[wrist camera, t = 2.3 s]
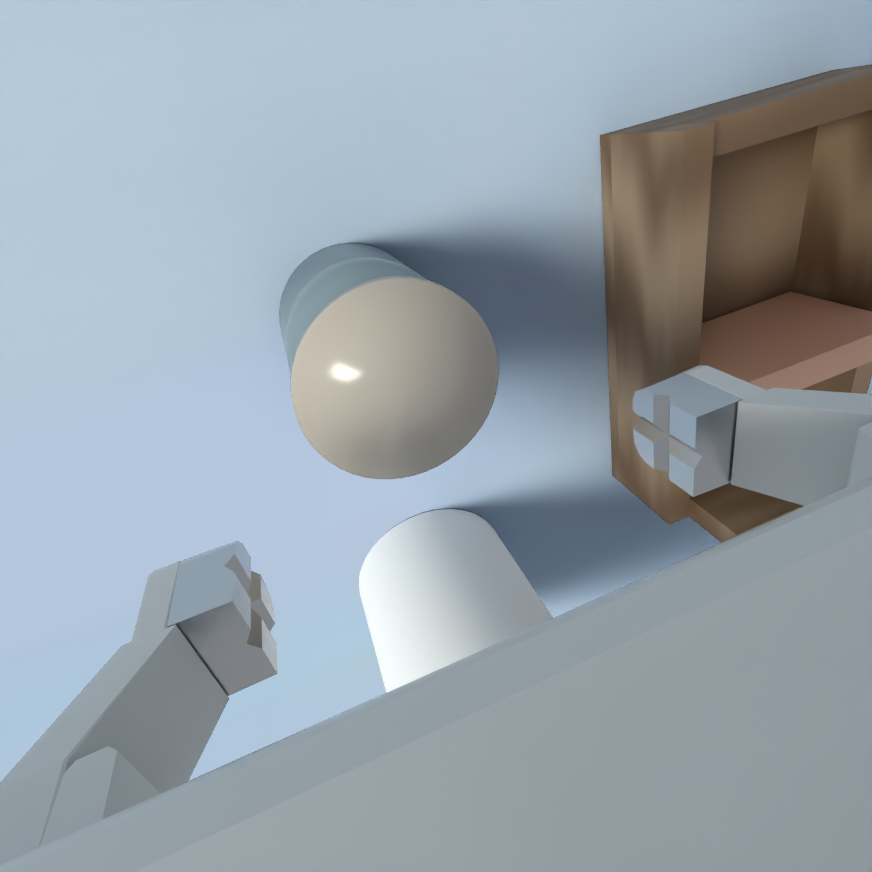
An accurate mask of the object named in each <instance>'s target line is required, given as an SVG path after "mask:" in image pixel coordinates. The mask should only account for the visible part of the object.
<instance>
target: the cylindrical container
mask: <svg viewBox="0 0 872 872" xmlns="http://www.w3.org/2000/svg"><path fill="white" fill-rule="evenodd" d="M359 589H360V595H361V599H362V603H363V607H364V610H365V614H366V618H367V622H368V625H369V629H370V633H371V636H372V640H373V644H374V648H375V651H376V655H377V659H378V663H379V666H380V670H381V674H382V677H383V681H384V685H385V689H386V692H389V691H391V690H394V689H396V688H398V687H400V686H403V685H405V684H407V683H409V682H412V681H414V680H416V679H418V678H421V677H423V676H425V675H427V674H430V673H432V672H434V671H436V670H439V669H441V668H443V667H445V666H447V665H450V664H452V663H454V662H456V661H459V660H461V659H463V658H465V657H468V656H470V655H472V654H474V653H477V652H479V651H481V650H483V649H485V648H488V647H490V646H492V645H494V644H497V643H499V642H501V641H503V640H506V639H508V638H510V637H512V636H515V635H517V634H519V633H521V632H523V631H526V630H528V629H530V628H532V627H535V626H537V625H539V624H541V623H544V622H546V621H548V620H550V619H553V617H552V615H551V614H550V612H549V611H548V609H547V608H546V606H545V605H544V603H543V602H542V600H541V599H540V597H539V596H538V594H537V593H536V591H535V590H534V588H533V587H532V585H531V584H530V582H529V581H528V579H527V578H526V576H525V575H524V573H523V572H522V570H521V569H520V567H519V566H518V565H517V563H516V562H515V560H514V559H513V557H512V556H511V554H510V553H509V551H508V550H507V548H506V547H505V545H504V544H503V542H502V541H501V539H500V538H499V536H498V535H497V533H496V532H495V530H494V529H493V527H492V526H491V525H490V524H489V523H488V522H487V521H486V520H485V519H483V518H481V517H480V516H478V515H476V514H474V513H471V512H468V511H464V510H457V509H441V510H434V511H430V512H425V513H421V514H419V515H416V516H414V517H411V518H409V519H407V520H405V521H403V522H402V523H400V524H398V525H397V526H395V527H393V528H392V529H391V530H389V531H388V532H387V533H386V534H385V535H384V536H382V537H381V538H380V539H379V540H378V542H377V543H376V544H375V545H374V546H373V547H372V549H371V550H370V552H369V553H368V555H367V557H366V558H365V560H364V563H363V565H362V568H361V571H360V578H359Z"/></svg>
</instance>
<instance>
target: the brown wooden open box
mask: <svg viewBox="0 0 872 872" xmlns="http://www.w3.org/2000/svg"><path fill="white" fill-rule="evenodd" d="M600 147H601V174H602V202H603V229H604V256H605V284H606V311H607V339H608V366H609V393H610V421H611V448H612V475H613V476H614V477H615V478H616V479H617V480H618V481H620V482H621V483H622V484H623V485H624V486H625V487H626V488H628V489H629V490H630V491H631V492H632V493H633V494H635V495H636V496H637V497H638V498H639V499H640V500H641V501H643V502H644V503H645V504H646V505H647V506H648V507H650V508H651V509H652V510H653V511H654V512H655V513H656V514H658V515H659V516H660V517H661V518H662V519H663V520H664V521H666V522H667V523H668V524H672V523H674V522H676V521H679V520H681V519H683V518H686V517H688V516H689V517H690V518H692V519H693V520H694V521H695V522H697V523H698V524H699V525H700V526H702V527H703V528H704V529H705V530H706V531H708V532H709V533H710V534H711V535H713V536H714V537H715V538H716V539H718V540H719V541H720V542H721V543H723V542H725V541H727V540H730V539H732V538H734V537H736V536H739V535H741V534H743V533H745V532H748V531H750V530H752V529H754V528H757V527H759V526H761V525H763V524H766V523H768V522H770V521H772V520H775V519H777V518H779V517H782V516H784V515H786V514H788V513H791V512H793V511H795V510H797V509H799V508H802V507H804V506H803V505H799V504H796V503H793V502H789V501H786V500H782V499H779V498H776V497H772V496H769V495H765V494H762V493H758V492H755V491H752V490H748V489H745V488H741V487H738V486H735V485H731V483H728V484H725V485H723V486H720V487H718V488H715V489H713V490H710V491H708V492H705V493H702V494H700V495H697V496H695V497H692V496H691V495H690V494H688V493H687V492H685V491H684V490H683V489H681V488H680V487H678V486H677V485H676V484H674V483H673V482H671V481H670V480H669V475H668V471H663V470H658V469H654V468H652V467H651V466H650V465H648V464H647V463H646V462H645V461H644V460H643V458H642V457H641V456H640V455H639V453H638V450H637V448H636V446H635V443H634V432H633V429H634V427H635V425H636V423H637V421H638V419H639V416H638V415H637V414H636V413H635V412H634V411H633V397H634V394H635V391H638V390H641V389H643V388H646V387H648V386H651V385H653V384H656V383H658V382H661V381H663V380H666V379H668V378H671V377H673V376H676V375H678V374H679V373H682V372H684V371H687V370H689V369H691V368H694V367H696V366H699V356H700V341H701V326H702V323H704V322H707V321H710V320H713V319H715V318H718V317H721V316H724V315H726V314H729V313H732V312H735V311H737V310H740V309H743V308H746V307H749V306H751V305H754V304H757V303H760V302H762V301H765V300H768V299H771V298H773V297H776V296H779V295H782V294H785V293H787V292H790V291H791V292H795V293H799V294H803V295H807V296H811V297H815V298H819V299H823V300H827V301H831V302H835V303H839V304H843V305H847V306H851V307H855V308H859V309H863V310H867V311H871V312H872V65H865V66H858V67H851V68H844V69H837V70H831V71H828V72H824V73H821V74H817V75H814V76H810V77H806V78H803V79H799V80H796V81H792V82H789V83H785V84H781V85H778V86H774V87H771V88H767V89H764V90H760V91H757V92H753V93H749V94H746V95H742V96H739V97H735V98H732V99H728V100H724V101H721V102H717V103H714V104H710V105H707V106H703V107H699V108H696V109H692V110H689V111H685V112H682V113H678V114H675V115H671V116H667V117H664V118H660V119H657V120H653V121H650V122H646V123H642V124H639V125H635V126H632V127H628V128H625V129H621V130H617V131H614V132H610V133H607V134H603V135H600ZM871 376H872V361H871V362H869V363H866V364H864V365H861V366H859V367H856V368H854V369H851V370H849V371H846V372H844V373H841V374H839V375H836V376H834V377H831V378H829V379H826V380H824V381H821V382H819V383H816V384H814V385H811V386H809V387H806V388H804V389H801V390H815V391H830V392H845V393H860V394H867V391H868V388H869V384H870V380H871Z"/></svg>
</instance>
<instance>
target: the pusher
mask: <svg viewBox="0 0 872 872" xmlns="http://www.w3.org/2000/svg"><path fill="white" fill-rule="evenodd" d="M871 361H872V312H871V311H867V310H863V309H859V308H855V307H851V306H847V305H843V304H839V303H835V302H831V301H827V300H823V299H819V298H815V297H811V296H807V295H803V294H799V293H795V292H791V291H790V292H787V293H785V294H782V295H779V296H776V297H773V298H771V299H768V300H765V301H762V302H760V303H757V304H754V305H751V306H749V307H746V308H743V309H740V310H737V311H735V312H732V313H729V314H726V315H724V316H721V317H718V318H715V319H713V320H710V321H707V322H704V323H702V326H701V341H700V356H699V365H707V366H710V367H712V368H714V369H717V370H719V371H722V372H724V373H727V374H729V375H731V376H734V377H736V378H739V379H741V380H744V381H746V382H748V383H751V384H753V385H756V386H758V387H761V388H763V389H765V390H769V389H772V388H785V389H800V390H801V389H804V388H806V387H809V386H811V385H814V384H816V383H819V382H821V381H824V380H826V379H829V378H831V377H834V376H836V375H839V374H841V373H844V372H846V371H849V370H851V369H854V368H856V367H859V366H861V365H864V364H866V363H869V362H871Z"/></svg>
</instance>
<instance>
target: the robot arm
mask: <svg viewBox="0 0 872 872" xmlns="http://www.w3.org/2000/svg"><path fill="white" fill-rule="evenodd" d="M633 411H634V412H635V413H636V414H637V415H638V416H639V419H638V421H637V423H636V425H635V427H634V429H633V432H634V443H635V446H636V448H637V450H638V453H639V455H640V456H641V457H642V458H643V460H644V461H645V462H646V463H647V464H648V465H650V466H651V467H652V468H654V469H658V470H663V471H668V475H669V480H670V481H671V482H673V483H674V484H676V485H677V486H678V487H680V488H681V489H683V490H684V491H685V492H687V493H688V494H690V495H691V496H692V497H695V496H697V495H700V494H702V493H705V492H708V491H710V490H713V489H715V488H718V487H720V486H723V485H725V484H728V483H731V485H735V486H738V487H741V488H745V489H748V490H752V491H755V492H758V493H762V494H765V495H769V496H772V497H776V498H779V499H782V500H786V501H789V502H793V503H796V504H799V505H803V506H804V507H802V508H799V509H797V510H795V511H793V512H791V513H788V514H786V515H784V516H782V517H779V518H777V519H775V520H772V521H770V522H768V523H766V524H763V525H761V526H759V527H757V528H754V529H752V530H750V531H748V532H745V533H743V534H741V535H739V536H736V537H734V538H732V539H730V540H727V541H725V542H723V543H721V544H718V545H716V546H714V547H712V548H709V549H707V550H705V551H703V552H700V553H698V554H696V555H694V556H691V557H689V558H687V559H685V560H682V561H680V562H678V563H676V564H673V565H671V566H669V567H667V568H664V569H662V570H660V571H658V572H655V573H653V574H651V575H649V576H646V577H644V578H642V579H640V580H637V581H635V582H633V583H631V584H628V585H626V586H624V587H622V588H620V589H617V590H615V591H613V592H611V593H608V594H606V595H604V596H602V597H599V598H597V599H595V600H593V601H590V602H588V603H586V604H584V605H582V606H579V607H577V608H575V609H573V610H570V611H568V612H566V613H564V614H561V615H559V616H557V617H555V618H553V619H550V620H548V621H546V622H544V623H541V624H539V625H537V626H535V627H532V628H530V629H528V630H526V631H523V632H521V633H519V634H517V635H515V636H512V637H510V638H508V639H506V640H503V641H501V642H499V643H497V644H494V645H492V646H490V647H488V648H485V649H483V650H481V651H479V652H477V653H474V654H472V655H470V656H468V657H465V658H463V659H461V660H459V661H456V662H454V663H452V664H450V665H447V666H445V667H443V668H441V669H439V670H436V671H434V672H432V673H430V674H427V675H425V676H423V677H421V678H418V679H416V680H414V681H412V682H409V683H407V684H405V685H403V686H400V687H398V688H396V689H394V690H391V691H389V692H387V693H385V694H383V695H380V696H378V697H376V698H374V699H371V700H369V701H367V702H365V703H362V704H360V705H358V706H356V707H353V708H351V709H349V710H347V711H344V712H342V713H340V714H338V715H335V716H333V717H331V718H329V719H327V720H324V721H322V722H320V723H318V724H315V725H313V726H311V727H309V728H306V729H304V730H302V731H300V732H297V733H295V734H293V735H291V736H288V737H286V738H284V739H282V740H280V741H277V742H275V743H273V744H271V745H268V746H266V747H264V748H262V749H259V750H257V751H255V752H253V753H250V754H248V755H246V756H244V757H241V758H239V759H237V760H235V761H232V762H230V763H228V764H226V765H224V766H221V767H219V768H217V769H215V770H212V771H210V772H208V773H206V774H203V775H201V776H199V777H197V778H194V779H192V780H190V781H188V780H189V778H190V776H191V774H192V772H193V770H194V768H195V766H196V764H197V762H198V760H199V758H200V756H201V754H202V752H203V750H204V748H205V746H206V744H207V742H208V740H209V738H210V736H211V734H212V732H213V730H214V728H215V726H216V724H217V722H218V720H219V718H220V716H221V714H222V712H223V710H224V708H225V706H226V704H227V702H228V700H229V698H228V696H229V695H231V694H234V693H236V692H238V691H240V690H242V689H245V688H247V687H249V686H251V685H253V684H256V683H258V682H260V681H262V680H264V679H267V678H269V677H271V676H273V675H275V674H277V654H276V642H275V640H274V639H273V637H272V635H271V633H270V631H271V629H272V627H273V626H274V624H275V618H274V609H273V605H272V601H271V597H270V594H269V592H268V589H267V587H266V584H265V582H264V581H263V579H262V577H261V575H260V574H257V573H255V572H253V571H251V557H250V555H249V554H248V552H247V550H246V549H245V547H244V545H243V544H242V543H240V542H239V541H235V542H233V543H230V544H227V545H224V546H221V547H219V548H216V549H213V550H210V551H207V552H205V553H202V554H199V555H196V556H193V557H190V558H188V559H185V560H183V561H179V562H176V563H174V564H171V565H168V566H166V567H163V568H161V569H158V570H155V571H153V572H152V573H151V574H150V575H149V576H148V579H147V583H146V587H145V591H144V595H143V599H142V602H141V606H140V610H139V614H138V618H137V622H136V626H135V629H134V633H133V637H132V641H131V642H130V643H127V644H125V645H123V646H121V647H120V648H119V650H118V651H117V652H116V653H115V654H114V655H113V656H112V657H111V659H110V660H109V661H108V662H107V663H106V664H105V665H104V666H103V668H102V669H101V670H100V671H99V672H98V673H97V674H96V675H95V677H94V678H93V679H92V680H91V681H90V682H89V683H88V684H87V686H86V687H85V688H84V689H83V690H82V691H81V692H80V693H79V695H78V696H77V697H76V698H75V699H74V700H73V701H72V702H71V704H70V705H69V706H68V707H67V708H66V709H65V710H64V711H63V713H62V714H61V715H60V716H59V717H58V718H57V719H56V720H55V722H54V723H53V724H52V725H51V726H50V727H49V728H48V729H47V731H46V732H45V733H44V734H43V735H42V736H41V737H40V738H39V740H38V741H37V742H36V743H35V744H34V745H33V746H32V747H31V749H30V750H29V751H28V752H27V753H26V754H25V755H24V756H23V758H22V759H21V760H20V761H19V762H18V763H17V764H16V765H15V767H14V768H13V769H12V770H11V771H10V772H9V773H8V774H7V776H6V777H5V778H4V779H3V780H2V781H1V782H0V872H872V394H860V393H845V392H830V391H815V390H800V389H785V388H772V389H769V390H765V389H763V388H761V387H758V386H756V385H753V384H751V383H748V382H746V381H744V380H741V379H739V378H736V377H734V376H731V375H729V374H727V373H724V372H722V371H719V370H717V369H714V368H712V367H710V366H707V365H699V366H696V367H694V368H691V369H689V370H687V371H684V372H682V373H679V374H678V375H676V376H673V377H671V378H668V379H666V380H663V381H661V382H658V383H656V384H653V385H651V386H648V387H646V388H643V389H641V390H638V391H635V394H634V397H633Z"/></svg>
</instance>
